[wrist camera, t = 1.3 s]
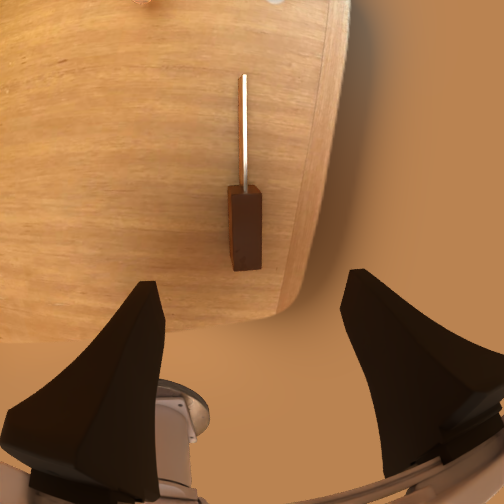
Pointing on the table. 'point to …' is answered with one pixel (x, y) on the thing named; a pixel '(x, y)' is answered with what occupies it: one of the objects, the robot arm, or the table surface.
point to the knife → (244, 202)
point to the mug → (141, 1)
